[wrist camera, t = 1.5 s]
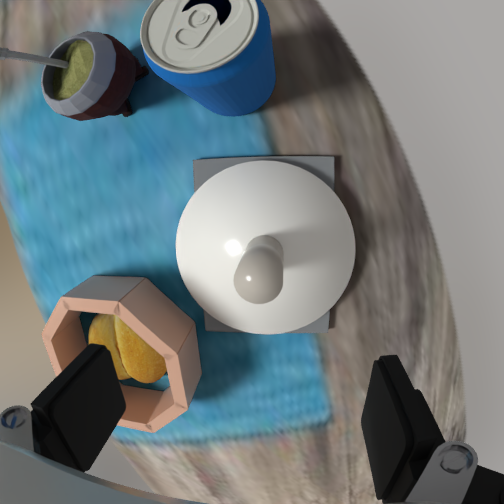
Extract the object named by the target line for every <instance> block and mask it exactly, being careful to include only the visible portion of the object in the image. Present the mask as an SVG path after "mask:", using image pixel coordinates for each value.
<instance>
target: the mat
mask: <svg viewBox="0 0 504 504" xmlns="http://www.w3.org/2000/svg"><path fill="white" fill-rule="evenodd" d="M261 160H264V161H278V162H283V163H288V164H291V165H294V166H297V167H300V168H302V169H304V170H306V171H308V172H310V173H312V174H313V175H315V176H316V177H318V178H319V179H321V180H322V181H323V182H324V183H325V184H326V185H328V186H329V187H330V188H331V189H332V190H333V192H334V157H326V156H271V157H238V158H218V159H201V160H193V172H194V192H196V191H197V190H198V189H199V188H200V187H201V186H202V185H203V184H204V183H205V182H206V181H207V180H209V179H210V178H211V177H213V176H214V175H215V174H217V173H219V172H221V171H223V170H225V169H227V168H229V167H232V166H234V165H237V164H241V163H245V162H250V161H261ZM203 310H204V309H203ZM329 313H330V309H329V310H328V311H327V312H326V313H325V314H324V315H322V316H321V317H320V318H318V319H317V320H315V321H314V322H312V323H310V324H308V325H306V326H304V327H302V328H299V329H296V330H293V331H290V332H285V333H328V326H329ZM204 319H205V329H206V331H219V332H244V331H241V330H238V329H235V328H232V327H230V326H228V325H225V324H223V323H222V322H220V321H218V320H217V319H215V318H214V317H212V316H211V315H210V314H209V313H207V312H206V311H205V310H204ZM248 333H249V332H248Z"/></svg>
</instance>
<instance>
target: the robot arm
mask: <svg viewBox="0 0 504 504" xmlns="http://www.w3.org/2000/svg"><path fill="white" fill-rule="evenodd" d="M31 406H32V408H33V410H32V411H31V412H30V411H29V409H28V408H26V407H24V406H12V407H9V408H7V409H5V410H4V411H3V412H2V413H1V414H0V504H207V503H200V502H194V501H188V500H182V499H177V498H172V497H167V496H162V495H158V494H154V493H149V492H145V491H141V490H137V489H134V488H130V487H126V486H123V485H120V484H116V483H113V482H110V481H106V480H104V479H100V478H98V477H95V476H92V475H88V474H86V473H84V472H85V471H88V470H89V469H90V468H91V466H92V464H93V463H94V461H95V459H96V458H97V456H98V455H99V453H100V451H101V450H102V448H103V446H104V445H105V443H106V442H107V440H108V438H109V437H110V435H111V433H112V432H113V430H114V429H115V427H116V425H117V424H118V422H119V421H120V419H121V417H122V416H123V414H124V412H125V410H126V402H125V399H124V396H123V393H122V389H121V386H120V383H119V380H118V376H117V373H116V370H115V366H114V363H113V359H112V355H111V352H110V350H108V349H107V347H106V346H105V345H101V344H95V343H90V344H89V345H88V346H87V347H86V348H85V349H84V350H83V351H82V352H81V353H80V354H79V355H78V356H77V357H76V358H75V359H74V360H73V361H72V362H71V363H70V364H69V365H68V366H67V367H66V368H65V369H64V370H63V371H62V372H61V373H60V374H59V375H58V376H57V377H56V378H55V379H54V380H53V381H52V382H51V383H50V384H49V385H48V386H47V387H46V388H45V389H44V390H43V391H42V392H41V393H40V394H39V396H38V397H36V399H35V400H34V401H33V402H32V403H31ZM361 426H362V430H363V435H364V439H365V444H366V448H367V453H368V457H369V462H370V467H371V472H372V477H373V482H374V487H375V492H376V497H377V499H378V500H381V499H382V502H383V504H504V474H501V473H498V472H496V471H493V470H490V469H487V468H485V467H482V466H479V465H477V463H478V457H477V453H476V452H475V450H474V449H473V448H472V447H471V446H470V445H468V444H466V443H464V442H460V441H449V442H445V440H444V438H443V436H442V434H441V431H440V429H439V427H438V425H437V423H436V421H435V419H434V417H433V415H432V413H431V411H430V408H429V406H428V404H427V402H426V400H425V398H424V396H423V394H422V393H421V391H420V390H418V389H416V390H415V389H414V387H413V385H412V383H411V381H410V379H409V377H408V375H407V373H406V371H405V369H404V367H403V365H402V363H401V361H400V360H399V358H398V356H397V355H386V356H380V358H379V360H375V361H374V364H373V368H372V373H371V378H370V383H369V388H368V392H367V397H366V401H365V405H364V409H363V413H362V418H361Z"/></svg>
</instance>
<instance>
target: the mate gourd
mask: <svg viewBox="0 0 504 504" xmlns="http://www.w3.org/2000/svg"><path fill="white" fill-rule="evenodd" d="M5 58H8V59H16V60H22V61H28V62H34V63H40V64H45V67H44V69H43V72H42V80H41V86H42V90H43V94H44V98H45V100H46V102H47V103H48V104H49V106H50V107H51V108H52V109H53V110H54V111H55V112H56V113H59V114H61V115H63V116H66V117H69V118H72V119H76V120H79V121H83V120H90V119H96V118H101V117H105V116H108V115H114V116H115V115H119V114H123V116H124V117H128V116H130V115H131V114H132V113H133V112H132V109H131V106H130V103H129V101H128V98H127V97H128V96H129V95H130V92H131V90H132V87H133V85H134V83H135V82H136V81H138V80H139V79H141V78H143V77H144V76H146V75H147V74H148V73H149V72H148V69H147V68H146V66H143V67H141V65H140V63H139V61H138V59H137V58H136V57H135V56H134V55H133V54H132V53H131V52H130V51H129V49H128V48H127V47H126V46H124V45H123V44H122V43H121V42H119V41H118V40H117V39H115V38H114V37H113V36H110V35H108V34H102V33H99V32H88V31H87V32H83V33H80V34H78V35H75V36H72V37H70V38H68V39H66V40H65V41H63V42H62V43H61V44H60V45H58V46H57V47H56V48H55V49H54V51H53V52H52V54H51V55H50V56H49V58H48V57H43V56H38V55H33V54H27V53H22V52H16V51H10V50H9V49H8V48H0V59H2V60H5Z"/></svg>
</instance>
